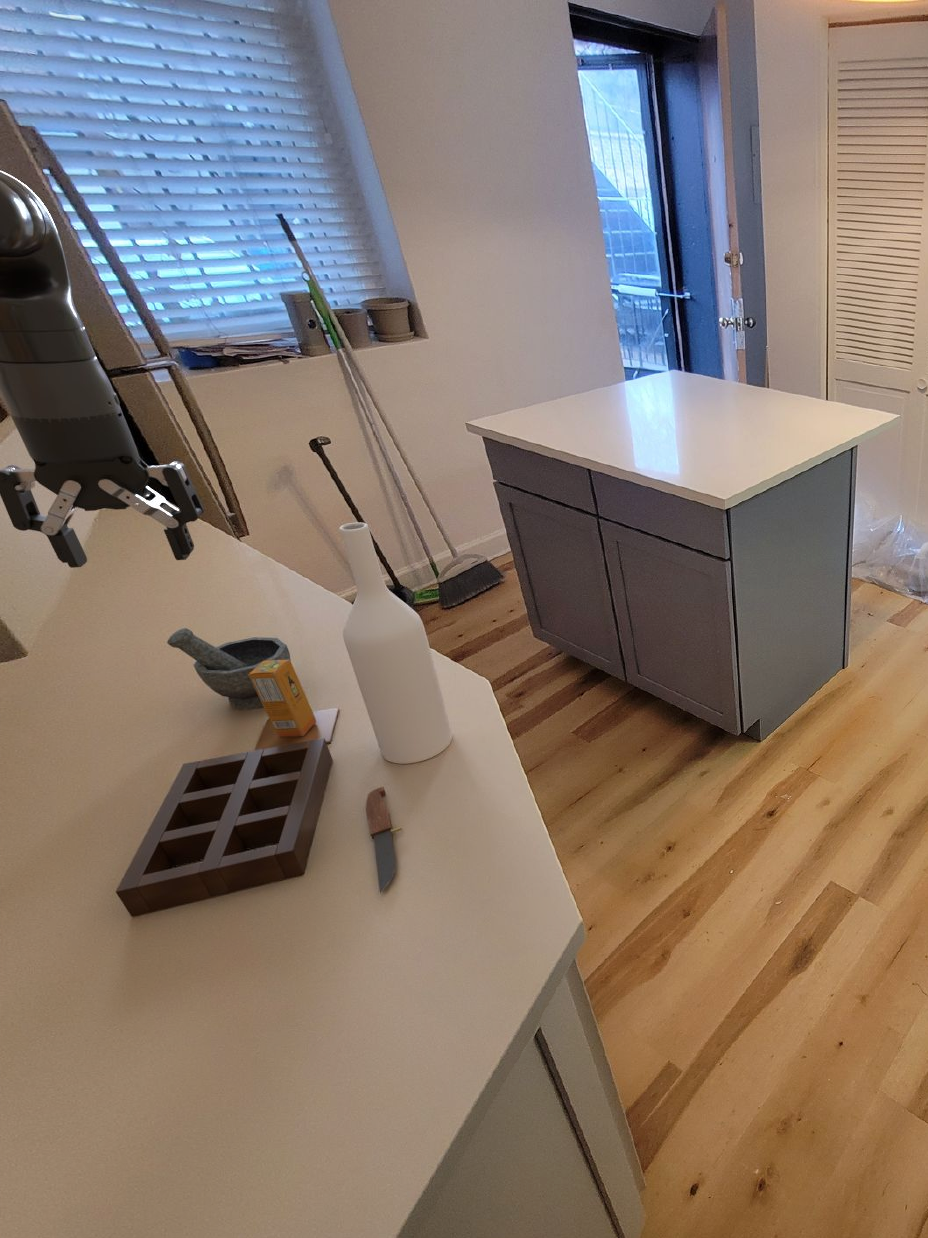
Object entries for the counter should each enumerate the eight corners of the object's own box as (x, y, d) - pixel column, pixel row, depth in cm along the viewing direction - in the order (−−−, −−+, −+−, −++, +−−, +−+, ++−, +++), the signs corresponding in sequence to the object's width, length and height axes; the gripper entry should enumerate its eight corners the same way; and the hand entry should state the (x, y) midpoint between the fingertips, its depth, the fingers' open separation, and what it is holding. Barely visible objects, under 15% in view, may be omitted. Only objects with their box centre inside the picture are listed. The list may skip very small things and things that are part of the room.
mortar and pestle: (299, 671, 102) (272, 599, 96) (304, 701, 96) (275, 626, 90) (200, 694, 96) (164, 618, 90) (199, 728, 89) (160, 649, 84)
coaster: (253, 758, 85) (252, 755, 85) (267, 721, 91) (266, 719, 91) (330, 743, 88) (329, 741, 88) (339, 709, 95) (338, 707, 94)
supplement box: (289, 723, 91) (263, 658, 86) (317, 722, 91) (293, 658, 86) (274, 738, 88) (246, 672, 83) (303, 738, 88) (277, 672, 84)
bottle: (456, 752, 88) (399, 532, 74) (383, 772, 84) (307, 544, 70) (448, 719, 94) (393, 510, 80) (379, 736, 90) (308, 519, 76)
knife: (413, 877, 70) (378, 890, 68) (415, 884, 70) (381, 897, 68) (391, 783, 81) (361, 792, 79) (393, 789, 82) (363, 799, 80)
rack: (131, 917, 65) (114, 892, 63) (194, 786, 80) (183, 763, 79) (304, 874, 70) (293, 850, 69) (333, 760, 86) (324, 737, 84)
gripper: (-63, 416, 61) (24, 582, 69) (148, 414, 67) (207, 568, 74) (-17, 399, 67) (59, 554, 74) (173, 399, 73) (225, 543, 80)
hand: (133, 561), depth 74 cm, fingers open, 8 cm apart
